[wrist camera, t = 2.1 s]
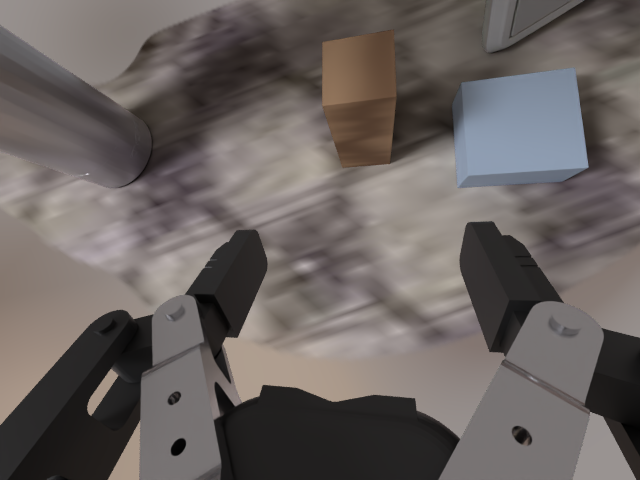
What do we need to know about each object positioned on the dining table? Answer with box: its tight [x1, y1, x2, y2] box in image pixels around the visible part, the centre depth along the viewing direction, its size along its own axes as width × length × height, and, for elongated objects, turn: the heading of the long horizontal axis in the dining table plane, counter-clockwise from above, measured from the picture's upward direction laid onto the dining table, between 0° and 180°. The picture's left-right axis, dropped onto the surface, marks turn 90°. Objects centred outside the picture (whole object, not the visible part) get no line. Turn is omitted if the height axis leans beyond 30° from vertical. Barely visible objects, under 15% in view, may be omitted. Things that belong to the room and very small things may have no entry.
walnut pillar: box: [322, 30, 396, 168], centre depth 22 cm, size 4×4×10 cm
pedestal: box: [452, 68, 589, 188], centre depth 23 cm, size 8×8×3 cm
